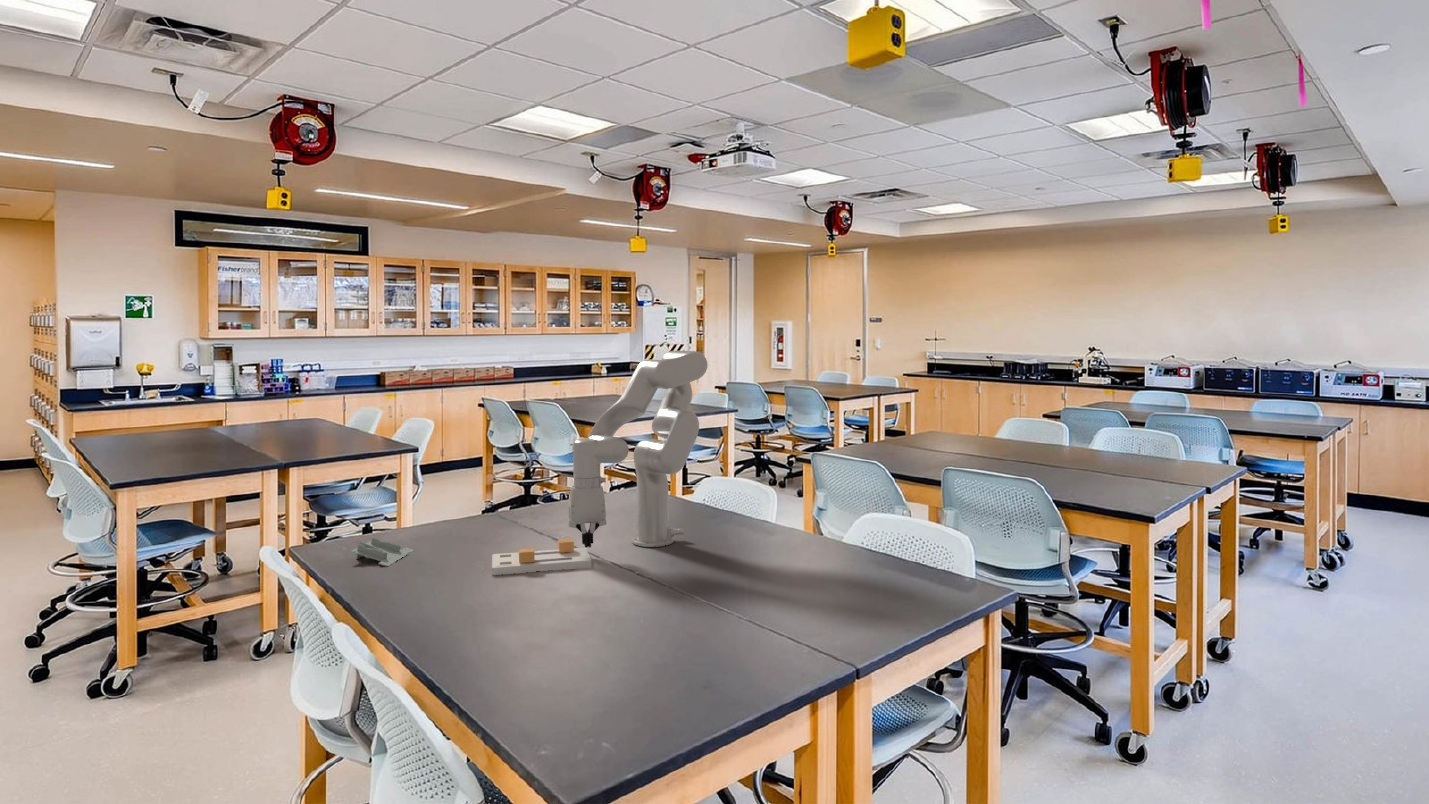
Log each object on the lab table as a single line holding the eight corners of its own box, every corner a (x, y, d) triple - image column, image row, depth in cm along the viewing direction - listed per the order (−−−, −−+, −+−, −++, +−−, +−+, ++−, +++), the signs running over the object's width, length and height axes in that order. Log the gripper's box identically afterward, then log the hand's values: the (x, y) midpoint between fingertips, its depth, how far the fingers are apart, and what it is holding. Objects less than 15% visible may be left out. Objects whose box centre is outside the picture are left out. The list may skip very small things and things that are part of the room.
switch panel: (586, 554, 220) (586, 546, 220) (591, 567, 207) (591, 559, 207) (492, 561, 213) (492, 553, 213) (492, 575, 201) (491, 567, 200)
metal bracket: (345, 546, 209) (374, 531, 223) (340, 565, 209) (369, 550, 224) (394, 561, 208) (419, 546, 223) (389, 581, 208) (415, 564, 223)
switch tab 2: (572, 548, 217) (572, 538, 217) (573, 551, 214) (573, 541, 214) (558, 549, 216) (558, 539, 216) (559, 552, 213) (559, 542, 213)
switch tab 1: (534, 558, 208) (533, 548, 208) (534, 561, 204) (534, 551, 204) (518, 559, 207) (518, 549, 207) (519, 563, 203) (519, 552, 203)
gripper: (611, 479, 221) (612, 541, 222) (559, 481, 217) (559, 544, 218) (615, 483, 214) (615, 548, 215) (561, 486, 210) (562, 551, 211)
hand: (587, 546), depth 217 cm, fingers closed
